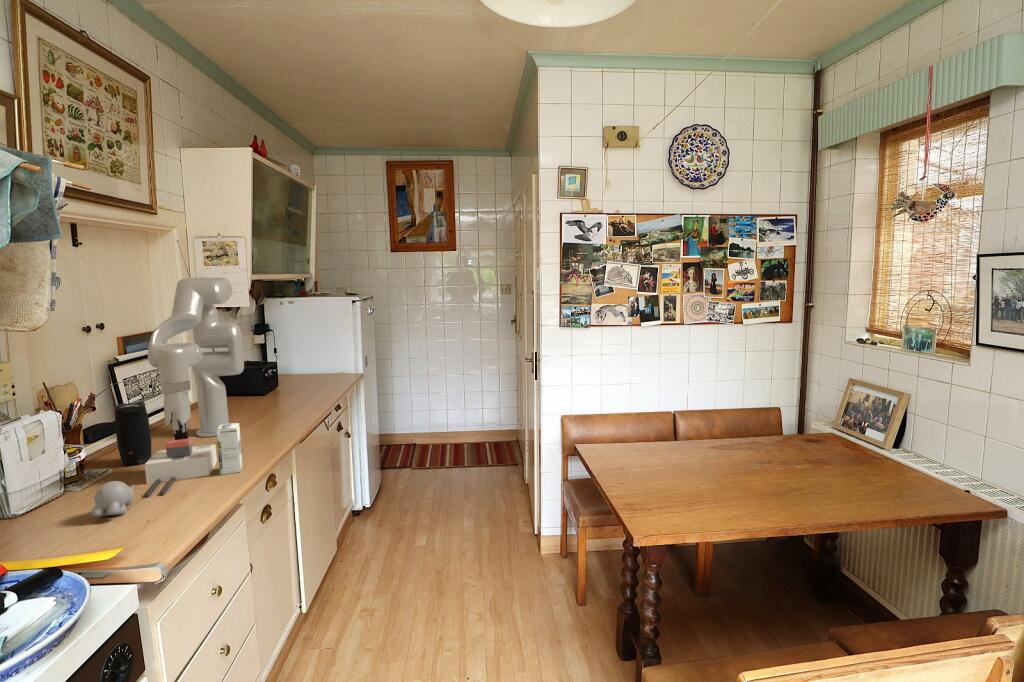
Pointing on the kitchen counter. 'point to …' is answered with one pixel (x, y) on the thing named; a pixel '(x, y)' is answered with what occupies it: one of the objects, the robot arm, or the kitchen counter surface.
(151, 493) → the dressed cords
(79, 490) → the kitchen counter surface
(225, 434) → the syrup box
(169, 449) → the handle
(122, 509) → the toy rhinoceros
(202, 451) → the block
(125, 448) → the portable speaker
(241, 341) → the robot arm
